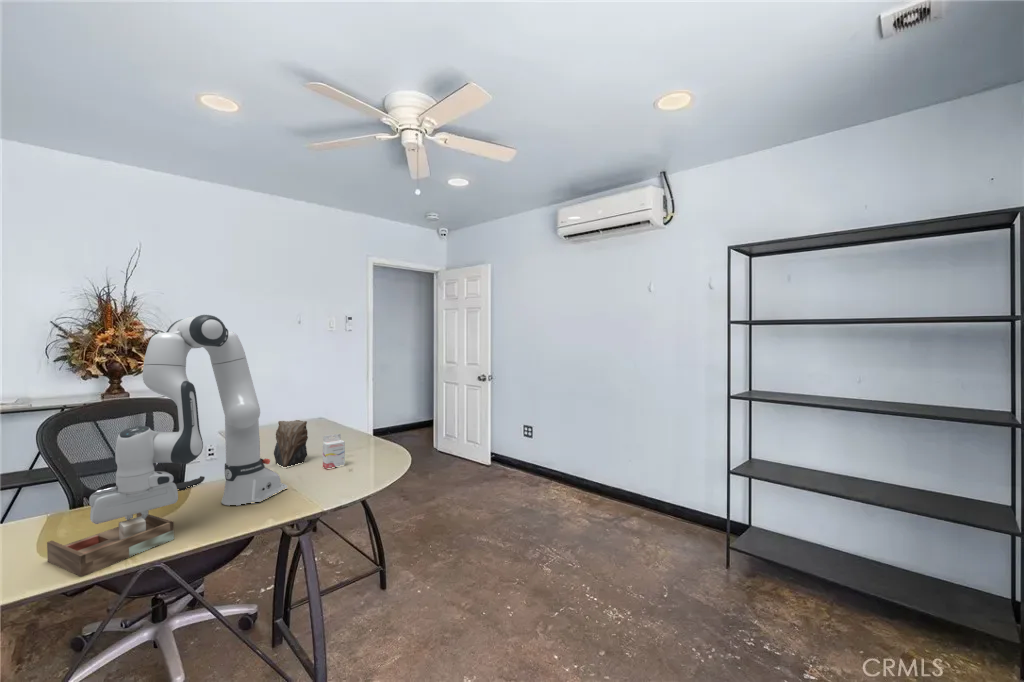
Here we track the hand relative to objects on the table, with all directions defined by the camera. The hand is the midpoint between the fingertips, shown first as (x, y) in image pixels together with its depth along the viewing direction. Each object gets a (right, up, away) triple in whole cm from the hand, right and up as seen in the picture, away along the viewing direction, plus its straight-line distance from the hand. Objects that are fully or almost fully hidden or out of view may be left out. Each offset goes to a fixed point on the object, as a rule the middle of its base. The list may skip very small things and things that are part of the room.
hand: (137, 527), depth 134 cm
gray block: (+2, -2, -4) cm, 4 cm away
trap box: (-3, -5, -4) cm, 7 cm away
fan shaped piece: (-19, -4, +48) cm, 52 cm away
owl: (+8, -2, +75) cm, 75 cm away
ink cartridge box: (+31, -2, +71) cm, 78 cm away
